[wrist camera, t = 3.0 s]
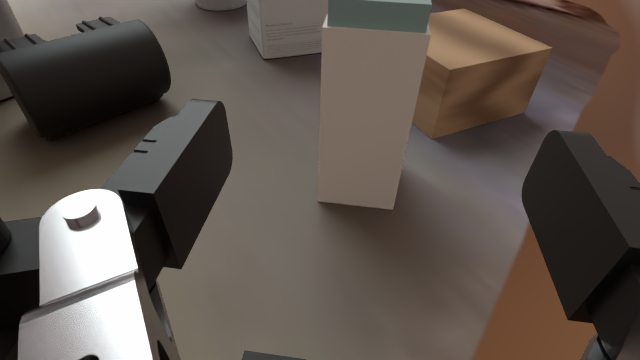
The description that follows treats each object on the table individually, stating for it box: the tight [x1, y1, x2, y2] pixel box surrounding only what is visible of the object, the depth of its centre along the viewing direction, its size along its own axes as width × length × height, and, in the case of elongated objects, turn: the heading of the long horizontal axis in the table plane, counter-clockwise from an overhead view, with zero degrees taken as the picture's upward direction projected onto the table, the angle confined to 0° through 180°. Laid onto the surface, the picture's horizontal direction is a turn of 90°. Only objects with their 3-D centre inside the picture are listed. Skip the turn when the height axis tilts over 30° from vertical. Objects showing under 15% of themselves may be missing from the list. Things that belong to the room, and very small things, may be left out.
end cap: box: [0, 17, 171, 140], centre depth 29 cm, size 10×7×7 cm
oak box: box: [412, 9, 552, 139], centre depth 33 cm, size 10×10×6 cm
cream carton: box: [318, 0, 432, 210], centre depth 22 cm, size 5×5×12 cm
